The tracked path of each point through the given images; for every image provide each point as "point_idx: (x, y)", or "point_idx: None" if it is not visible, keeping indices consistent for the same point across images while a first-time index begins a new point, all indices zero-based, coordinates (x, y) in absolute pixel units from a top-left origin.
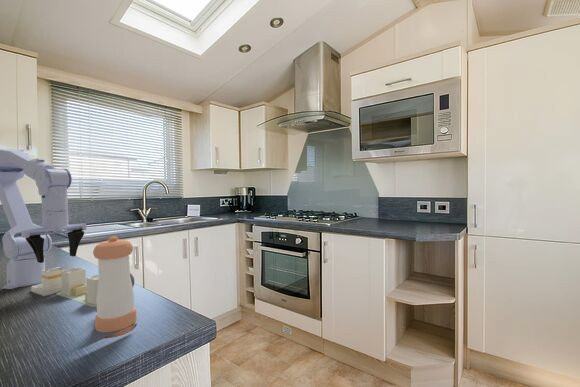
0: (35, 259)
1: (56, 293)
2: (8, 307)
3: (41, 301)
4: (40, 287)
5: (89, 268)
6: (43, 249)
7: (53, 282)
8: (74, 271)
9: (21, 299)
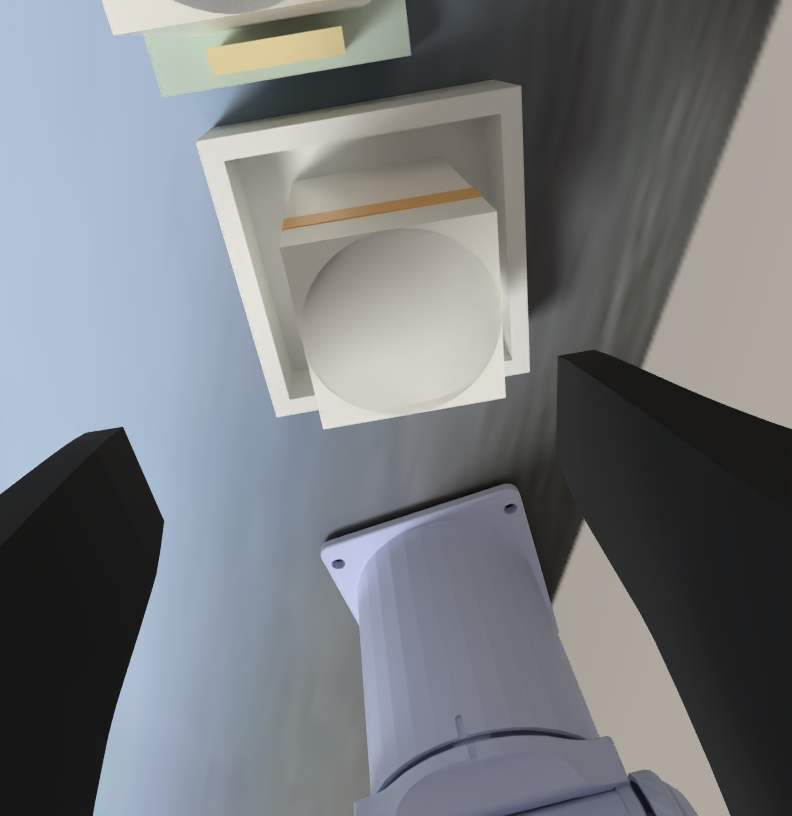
0: (470, 721)
1: (404, 52)
2: (706, 153)
3: (513, 73)
4: None
5: None
6: None
7: (415, 184)
8: None
9: (578, 299)
